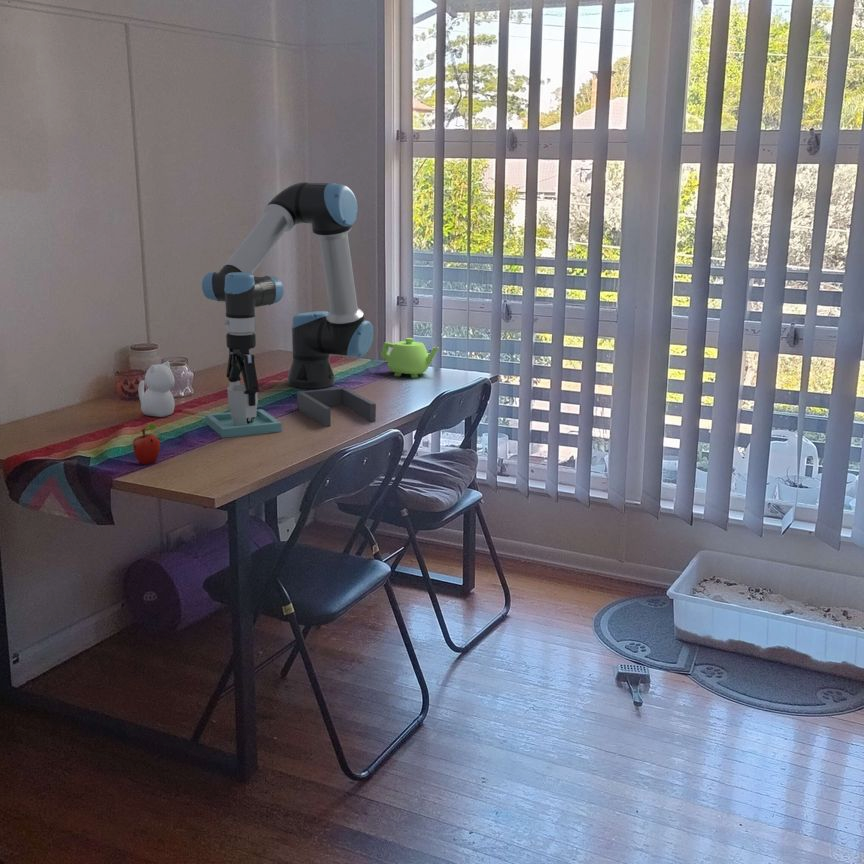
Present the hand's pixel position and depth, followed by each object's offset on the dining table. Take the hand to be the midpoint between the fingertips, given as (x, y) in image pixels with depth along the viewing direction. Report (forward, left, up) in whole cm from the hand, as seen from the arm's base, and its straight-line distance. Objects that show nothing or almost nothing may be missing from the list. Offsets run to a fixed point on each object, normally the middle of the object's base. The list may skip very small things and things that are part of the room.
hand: (243, 411), depth 258 cm
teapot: (-43, +72, -5) cm, 84 cm away
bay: (-2, +28, -4) cm, 28 cm away
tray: (0, 0, -4) cm, 4 cm away
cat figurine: (-22, -18, -5) cm, 29 cm away
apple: (+22, -30, -5) cm, 38 cm away
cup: (0, 0, -4) cm, 4 cm away
